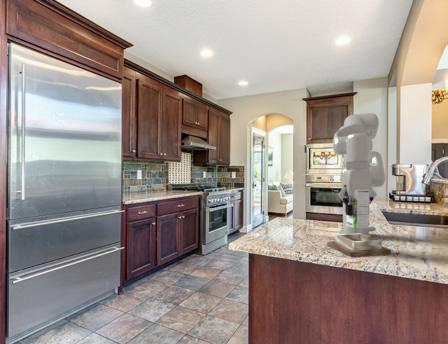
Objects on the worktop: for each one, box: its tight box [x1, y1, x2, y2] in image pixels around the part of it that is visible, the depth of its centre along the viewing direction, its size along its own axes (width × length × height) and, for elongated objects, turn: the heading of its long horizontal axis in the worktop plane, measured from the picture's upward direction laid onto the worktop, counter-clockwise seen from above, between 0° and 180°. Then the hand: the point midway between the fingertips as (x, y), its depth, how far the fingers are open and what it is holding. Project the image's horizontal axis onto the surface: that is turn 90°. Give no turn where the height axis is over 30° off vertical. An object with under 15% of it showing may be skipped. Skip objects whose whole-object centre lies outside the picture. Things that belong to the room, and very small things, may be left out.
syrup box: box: [346, 189, 370, 229], centre depth 98 cm, size 6×6×14 cm
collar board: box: [326, 233, 392, 258], centre depth 98 cm, size 16×14×4 cm
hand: (357, 214), depth 98 cm, fingers closed on syrup box, 6 cm apart
